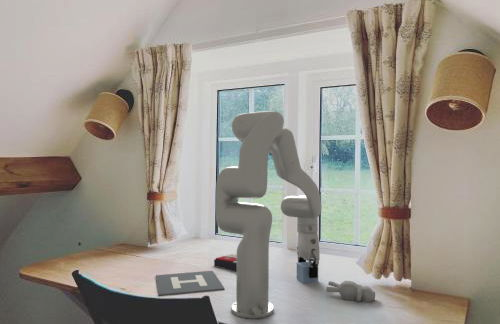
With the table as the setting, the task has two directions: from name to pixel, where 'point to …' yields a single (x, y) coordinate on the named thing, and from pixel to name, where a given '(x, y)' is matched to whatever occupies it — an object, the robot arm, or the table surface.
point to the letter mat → (188, 283)
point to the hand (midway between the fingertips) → (307, 273)
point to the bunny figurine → (352, 291)
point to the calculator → (227, 262)
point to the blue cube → (304, 273)
